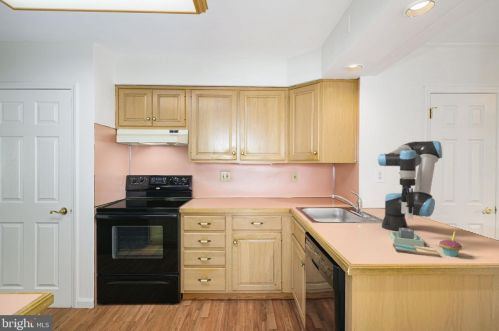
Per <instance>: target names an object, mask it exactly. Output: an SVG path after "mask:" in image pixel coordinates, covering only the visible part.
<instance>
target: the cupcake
mask: <svg viewBox="0 0 499 331" xmlns="http://www.w3.org/2000/svg"><path fill="white" fill-rule="evenodd" d="M452 233H453V234H452V238H451V239H443V240H441V241H440V242H439V247H440V248H441V249H442V252H443V255H445V256H448V257H453V258H454V257H455V258H456V257H457V255H458V253H459V252H460V251H461V250H463V246H462V244H461V243H459V242H458V241H456V240H455V237H456V231H453V232H452Z"/></svg>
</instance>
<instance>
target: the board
mask: <svg viewBox="0 0 499 331" xmlns="http://www.w3.org/2000/svg"><path fill="white" fill-rule="evenodd" d="M392 247H393V249H394V250H395V252H396V253H401V254H402V253H403V254H412V255H419V256H426V257H428V256H429V257H433V258H434V257H435V258H441V254H440V253H439V252H438V251H437V250H436V249H435V248H434V247H429V246H424V247H423V246H414V245H404V244H395V243H394V242H392Z"/></svg>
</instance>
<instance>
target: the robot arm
mask: <svg viewBox="0 0 499 331" xmlns="http://www.w3.org/2000/svg"><path fill="white" fill-rule="evenodd" d="M377 157H378V158H377V163H378V165H379V166H382V167H399V171H398V174H399V185H400V186H401V188H402V189H401V192H396V193H395V192H394V193H393V192H391V193H387V194H385V199H384V217H383V219H382V222H381V227H382V229H385V230H388V231H389V230H390V231H393V232H399V228H408V229H409V227H408V226H409V225H408V223H407V220H413V219H414V216H417V217H425V218H428V217H430V216H432V215H433V213H434V210H435V206H436V200H435V198H433V195H432V194H431V189H432V183H433V178H434V172H435V166H436V163H438V162H439V159H442V158H443V147H442V143H441V142H440V141H439V140H427V141H426V140H425V141H423V140H422V141H411V142H407V143H406V142H405V143H404V144H401V145H399V146H398V147H397V148H396V149H394V150H393V151H391V152H388V153H380V154H379V155H378V156H377ZM416 167H418V168H416ZM417 169H418V170H417ZM412 187H414V188H412Z"/></svg>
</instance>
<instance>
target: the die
mask: <svg viewBox="0 0 499 331" xmlns="http://www.w3.org/2000/svg"><path fill="white" fill-rule="evenodd" d="M398 232H399V238H405V239H414V234H415V232H414V230H413V229H412V228H409V227H408V228H399V231H398Z"/></svg>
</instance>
